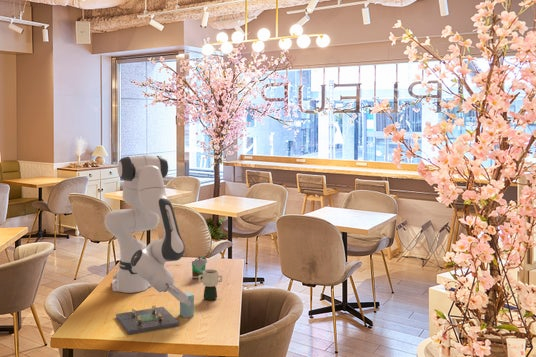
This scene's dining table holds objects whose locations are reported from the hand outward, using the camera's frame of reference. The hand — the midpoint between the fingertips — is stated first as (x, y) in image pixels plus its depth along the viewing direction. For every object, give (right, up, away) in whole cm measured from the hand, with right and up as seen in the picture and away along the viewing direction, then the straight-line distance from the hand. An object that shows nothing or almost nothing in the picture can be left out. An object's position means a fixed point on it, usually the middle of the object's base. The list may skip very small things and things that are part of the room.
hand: (185, 300), depth 219 cm
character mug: (+8, -4, +22) cm, 24 cm away
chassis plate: (-15, -7, -7) cm, 18 cm away
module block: (0, -6, +1) cm, 6 cm away
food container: (-1, -1, +56) cm, 56 cm away
